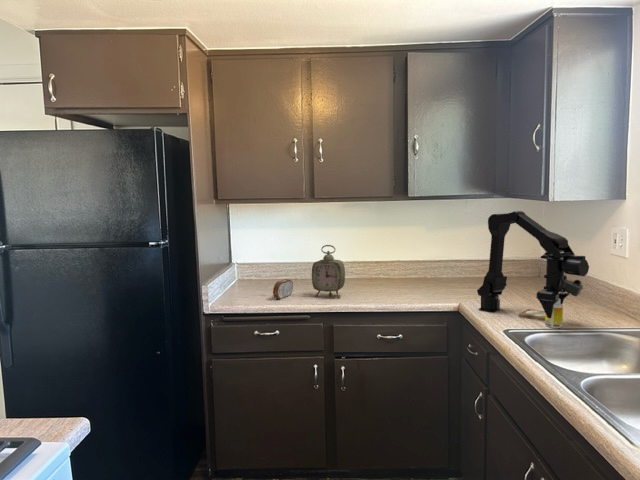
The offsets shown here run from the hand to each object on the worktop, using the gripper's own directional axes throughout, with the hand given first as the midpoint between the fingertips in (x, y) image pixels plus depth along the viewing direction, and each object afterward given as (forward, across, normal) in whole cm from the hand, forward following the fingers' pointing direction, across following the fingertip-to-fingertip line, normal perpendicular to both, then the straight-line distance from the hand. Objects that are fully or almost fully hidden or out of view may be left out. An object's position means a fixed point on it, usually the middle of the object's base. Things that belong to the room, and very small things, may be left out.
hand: (553, 315), depth 161 cm
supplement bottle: (+4, 0, 0) cm, 4 cm away
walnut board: (+4, +10, +9) cm, 14 cm away
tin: (+4, -31, +111) cm, 115 cm away
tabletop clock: (+4, -16, +95) cm, 96 cm away
